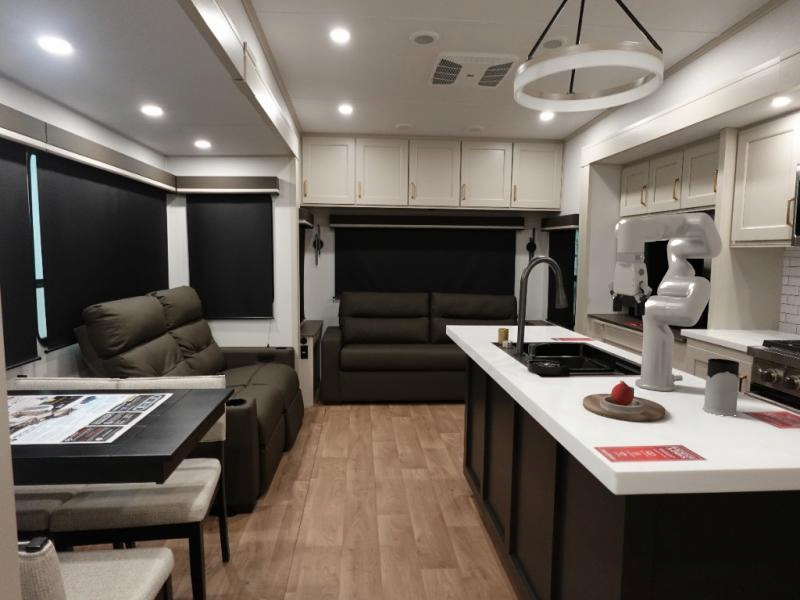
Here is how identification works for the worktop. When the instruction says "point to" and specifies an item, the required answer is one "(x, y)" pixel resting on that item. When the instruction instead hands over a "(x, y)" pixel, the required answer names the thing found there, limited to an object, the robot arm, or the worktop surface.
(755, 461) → the worktop surface
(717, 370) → the glass holder
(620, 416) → the carrier plate
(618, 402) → the red rounded piece
